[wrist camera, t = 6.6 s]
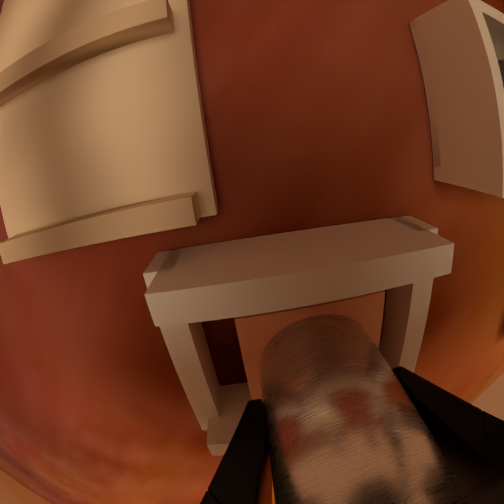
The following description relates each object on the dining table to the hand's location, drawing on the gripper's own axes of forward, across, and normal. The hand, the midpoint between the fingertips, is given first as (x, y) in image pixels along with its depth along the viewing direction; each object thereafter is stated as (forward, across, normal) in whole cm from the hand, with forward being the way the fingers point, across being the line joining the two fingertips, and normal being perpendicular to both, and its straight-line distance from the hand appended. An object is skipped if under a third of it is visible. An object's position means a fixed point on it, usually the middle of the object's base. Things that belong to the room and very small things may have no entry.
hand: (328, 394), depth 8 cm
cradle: (+4, 0, 0) cm, 4 cm away
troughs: (+4, +7, -12) cm, 14 cm away
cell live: (+2, 0, 0) cm, 2 cm away
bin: (+4, -10, -9) cm, 14 cm away
